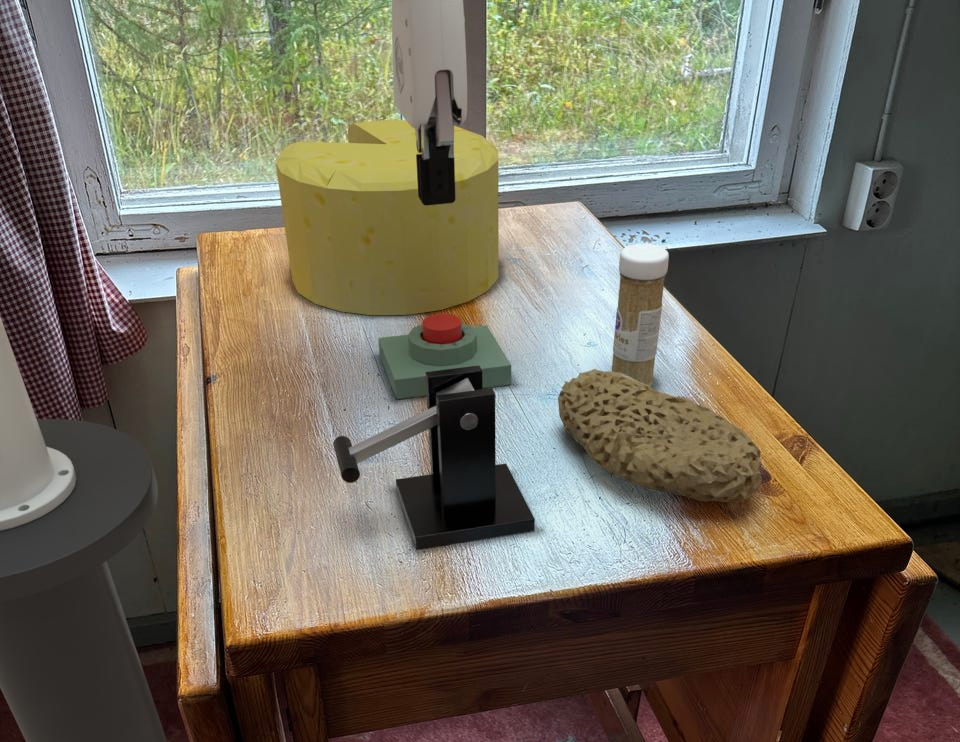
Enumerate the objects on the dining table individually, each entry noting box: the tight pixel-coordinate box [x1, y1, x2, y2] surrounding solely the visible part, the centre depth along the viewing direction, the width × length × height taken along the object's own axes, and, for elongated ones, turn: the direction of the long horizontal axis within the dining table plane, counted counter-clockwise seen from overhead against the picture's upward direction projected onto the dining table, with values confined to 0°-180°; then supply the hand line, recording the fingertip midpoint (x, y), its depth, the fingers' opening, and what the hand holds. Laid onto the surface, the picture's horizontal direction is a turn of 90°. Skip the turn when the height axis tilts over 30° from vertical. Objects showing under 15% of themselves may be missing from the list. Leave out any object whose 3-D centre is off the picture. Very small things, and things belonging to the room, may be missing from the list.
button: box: [421, 313, 463, 344], centre depth 99 cm, size 4×4×2 cm
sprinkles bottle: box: [610, 243, 670, 388], centre depth 95 cm, size 5×5×14 cm
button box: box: [377, 321, 512, 400], centre depth 101 cm, size 12×10×4 cm
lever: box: [332, 378, 474, 484], centre depth 76 cm, size 12×5×2 cm, turn 104°
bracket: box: [395, 365, 536, 550], centre depth 79 cm, size 10×9×12 cm
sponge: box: [557, 368, 763, 503], centre depth 85 cm, size 13×8×20 cm
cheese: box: [275, 119, 499, 316], centre depth 118 cm, size 26×26×15 cm
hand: (437, 200), depth 91 cm, fingers closed
